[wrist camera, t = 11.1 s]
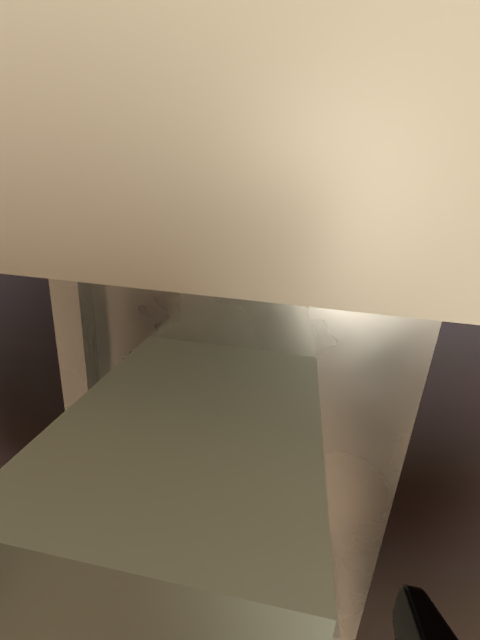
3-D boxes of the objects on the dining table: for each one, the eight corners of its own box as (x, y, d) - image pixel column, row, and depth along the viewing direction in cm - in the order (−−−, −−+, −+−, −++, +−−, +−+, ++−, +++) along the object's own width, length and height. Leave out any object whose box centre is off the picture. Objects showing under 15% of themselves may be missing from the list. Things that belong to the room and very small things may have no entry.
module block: (316, 357, 9) (336, 621, 3) (283, 574, 12) (264, 920, 6) (149, 336, 10) (-66, 527, 4) (154, 546, 12) (30, 837, 7)
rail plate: (331, 688, 15) (334, 743, 13) (109, 631, 16) (89, 675, 15) (502, 12, 7) (556, -38, 6) (47, 16, 8) (-8, -23, 7)
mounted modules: (325, 696, 13) (333, 888, 10) (106, 639, 15) (38, 789, 11) (477, 84, 7) (699, -60, 3) (45, 77, 8) (-185, -31, 4)
